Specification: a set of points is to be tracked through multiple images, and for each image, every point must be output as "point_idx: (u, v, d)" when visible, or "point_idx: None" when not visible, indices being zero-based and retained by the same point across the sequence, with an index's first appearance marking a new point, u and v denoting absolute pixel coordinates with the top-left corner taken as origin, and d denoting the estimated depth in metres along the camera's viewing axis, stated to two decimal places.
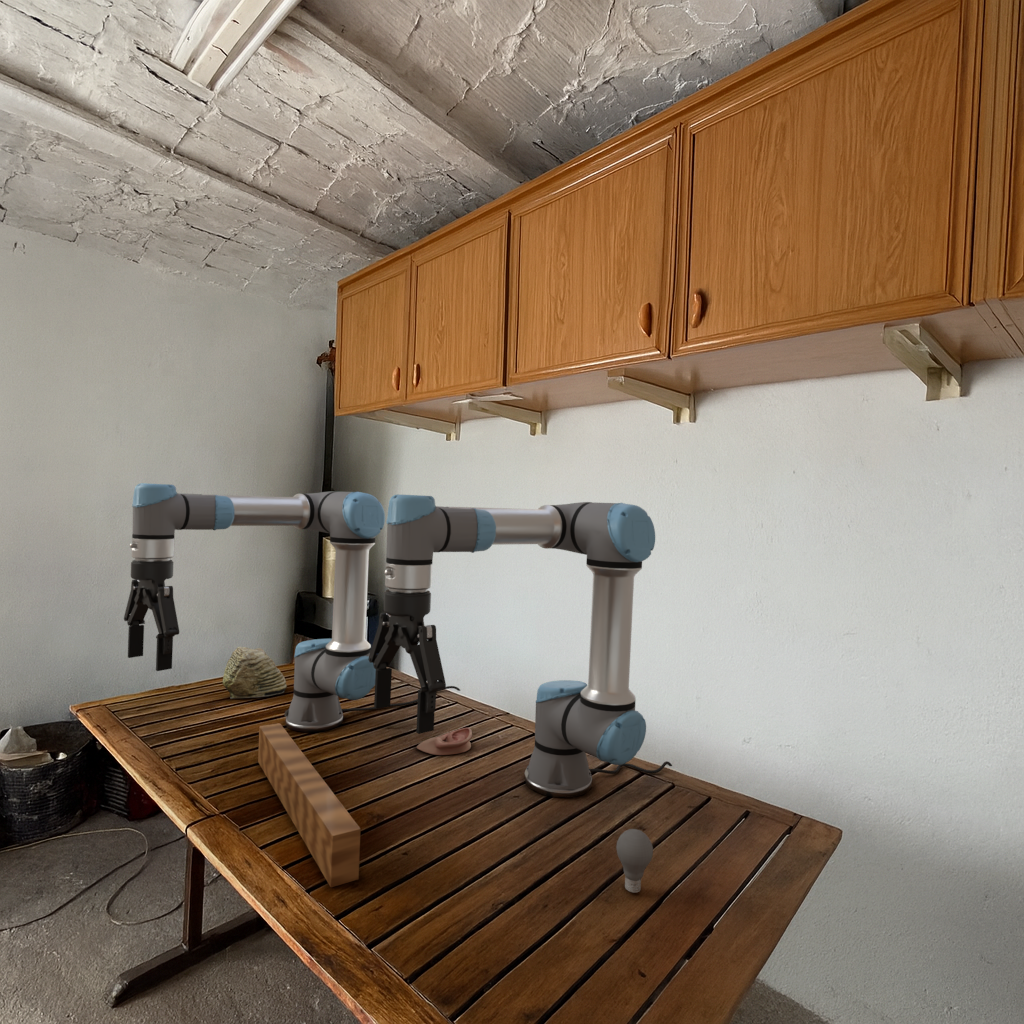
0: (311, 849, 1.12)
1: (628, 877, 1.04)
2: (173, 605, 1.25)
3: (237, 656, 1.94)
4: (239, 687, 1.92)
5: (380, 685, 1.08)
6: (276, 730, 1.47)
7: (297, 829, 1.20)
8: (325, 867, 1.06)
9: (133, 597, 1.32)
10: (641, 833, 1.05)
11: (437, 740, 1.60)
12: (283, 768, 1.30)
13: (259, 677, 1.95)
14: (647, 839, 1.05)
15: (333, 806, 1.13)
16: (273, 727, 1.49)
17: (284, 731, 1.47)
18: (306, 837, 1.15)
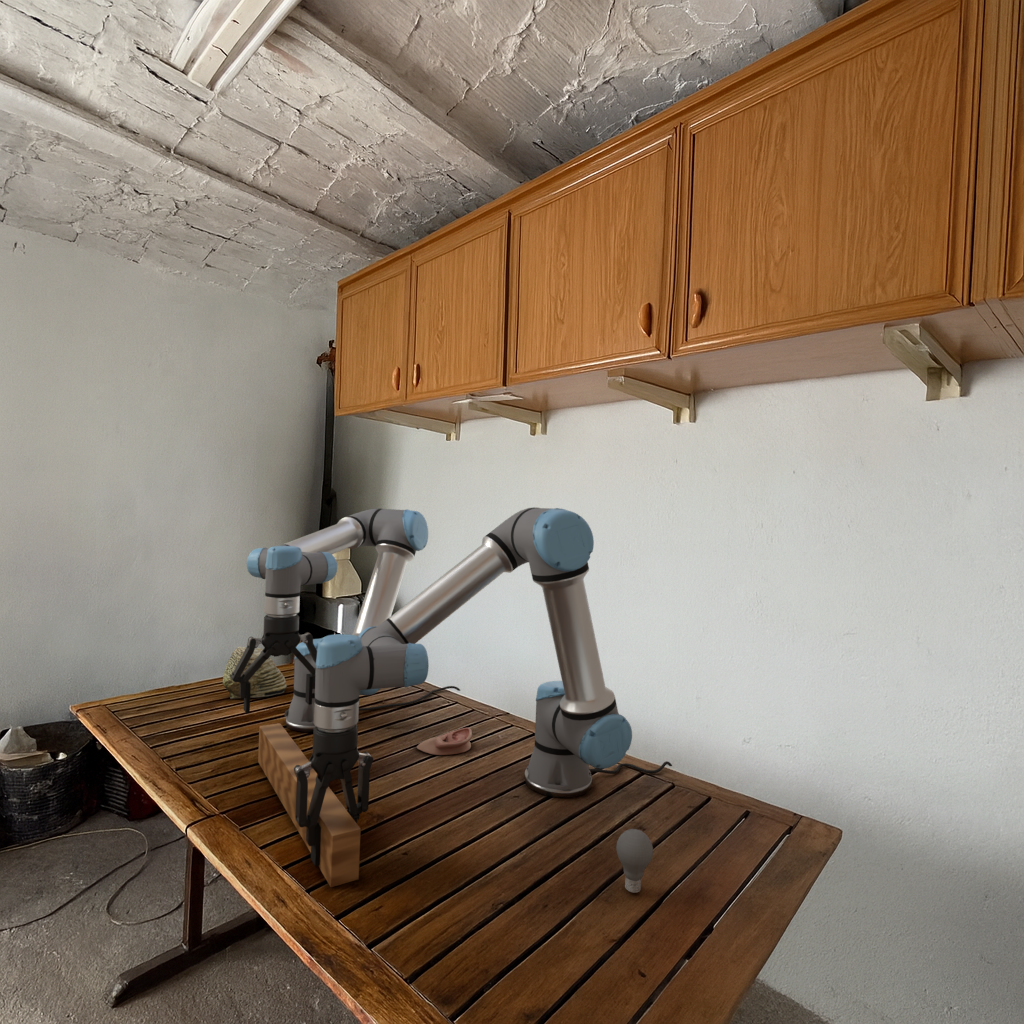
0: None
1: (628, 877, 1.04)
2: None
3: (237, 656, 1.94)
4: (239, 687, 1.92)
5: None
6: (276, 730, 1.47)
7: (297, 829, 1.20)
8: (325, 867, 1.06)
9: None
10: (641, 833, 1.05)
11: (437, 740, 1.60)
12: (283, 768, 1.30)
13: (259, 677, 1.95)
14: (647, 839, 1.05)
15: (333, 806, 1.13)
16: (273, 727, 1.49)
17: (284, 731, 1.47)
18: None
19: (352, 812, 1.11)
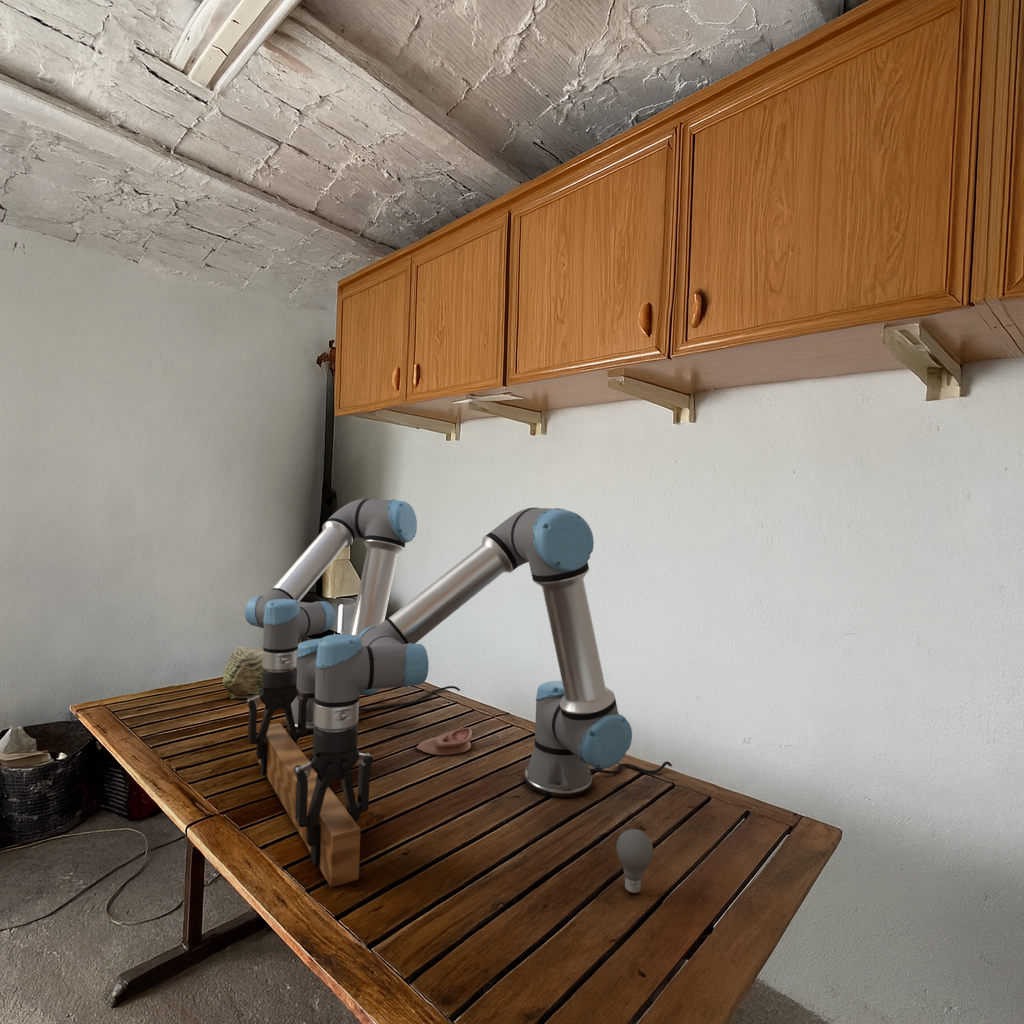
0: None
1: (628, 877, 1.04)
2: None
3: (237, 656, 1.94)
4: (239, 687, 1.92)
5: None
6: (276, 730, 1.47)
7: (297, 829, 1.20)
8: (325, 867, 1.06)
9: (256, 715, 1.41)
10: (641, 833, 1.05)
11: (437, 740, 1.60)
12: (283, 768, 1.30)
13: (259, 677, 1.95)
14: (647, 839, 1.05)
15: (333, 806, 1.13)
16: (273, 727, 1.49)
17: (284, 731, 1.47)
18: None
19: (352, 812, 1.11)
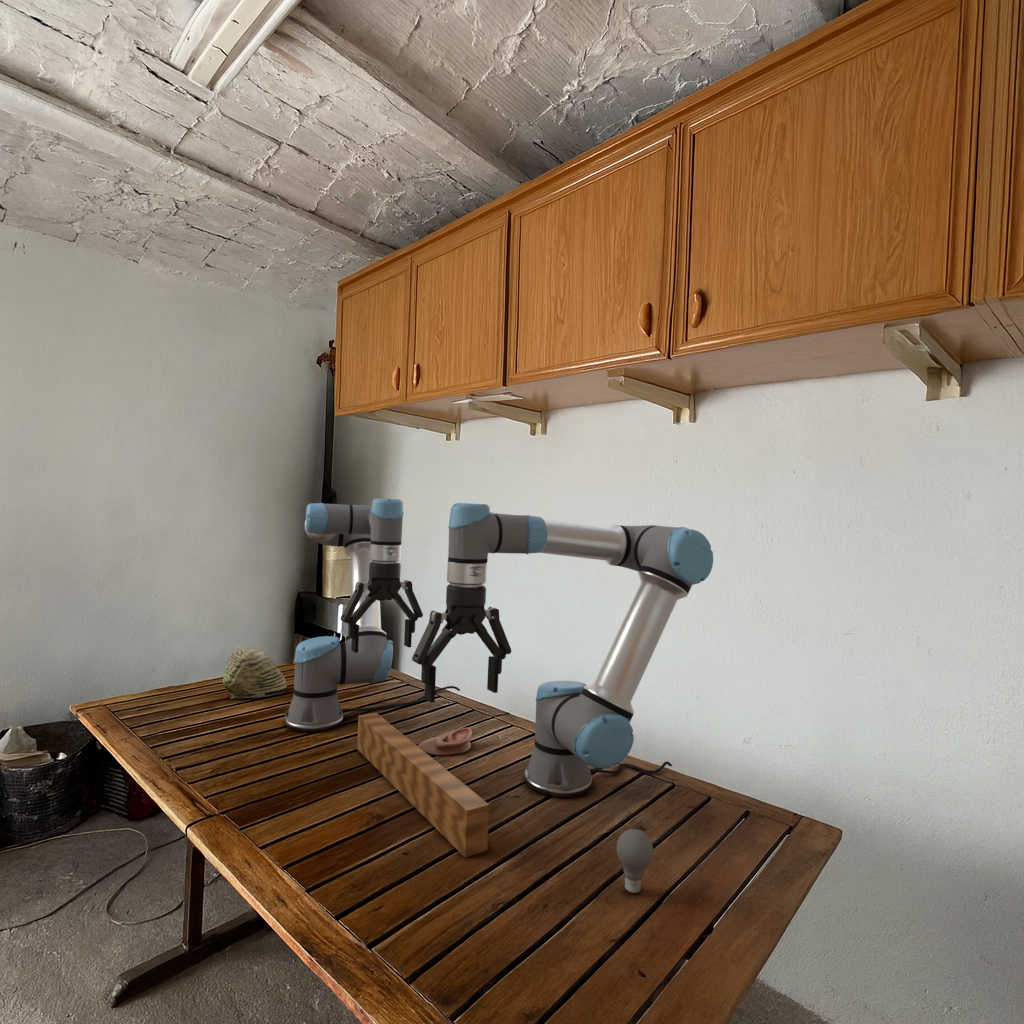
0: (437, 825, 1.23)
1: (628, 877, 1.04)
2: None
3: (237, 656, 1.94)
4: (239, 687, 1.92)
5: None
6: (375, 719, 1.57)
7: (416, 808, 1.30)
8: (457, 840, 1.16)
9: None
10: (641, 833, 1.05)
11: (437, 740, 1.60)
12: (394, 753, 1.40)
13: (259, 677, 1.95)
14: (647, 839, 1.05)
15: (456, 785, 1.23)
16: (372, 716, 1.59)
17: (383, 720, 1.57)
18: (429, 814, 1.25)
19: (498, 654, 1.23)
